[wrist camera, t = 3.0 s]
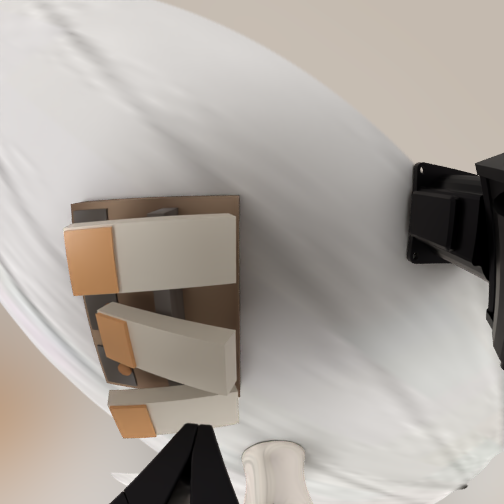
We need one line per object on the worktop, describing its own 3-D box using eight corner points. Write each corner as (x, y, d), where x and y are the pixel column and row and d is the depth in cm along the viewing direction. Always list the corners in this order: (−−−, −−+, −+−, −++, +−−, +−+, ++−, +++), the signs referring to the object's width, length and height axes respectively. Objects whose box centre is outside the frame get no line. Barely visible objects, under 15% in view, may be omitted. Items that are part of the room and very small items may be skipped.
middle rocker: (235, 330, 11) (222, 348, 10) (236, 380, 12) (225, 399, 11) (112, 301, 13) (93, 311, 12) (121, 345, 14) (105, 358, 13)
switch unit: (239, 195, 15) (236, 200, 11) (240, 383, 18) (239, 423, 15) (83, 201, 15) (45, 209, 11) (114, 371, 18) (94, 404, 14)
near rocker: (228, 213, 12) (237, 217, 11) (229, 274, 13) (237, 284, 12) (71, 223, 10) (61, 229, 9) (80, 285, 11) (72, 298, 9)
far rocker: (232, 377, 14) (239, 394, 13) (233, 410, 15) (240, 426, 14) (109, 390, 12) (107, 407, 11) (122, 422, 13) (122, 439, 12)
